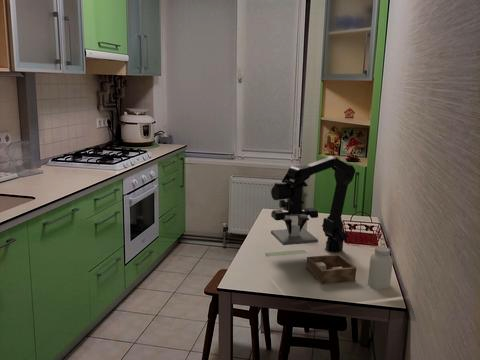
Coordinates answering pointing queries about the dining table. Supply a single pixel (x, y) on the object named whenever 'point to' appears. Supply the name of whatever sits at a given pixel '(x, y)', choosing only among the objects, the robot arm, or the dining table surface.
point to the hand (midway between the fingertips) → (293, 233)
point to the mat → (286, 253)
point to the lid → (294, 236)
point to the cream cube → (321, 265)
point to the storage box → (330, 274)
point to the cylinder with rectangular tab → (295, 221)
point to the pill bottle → (380, 268)
